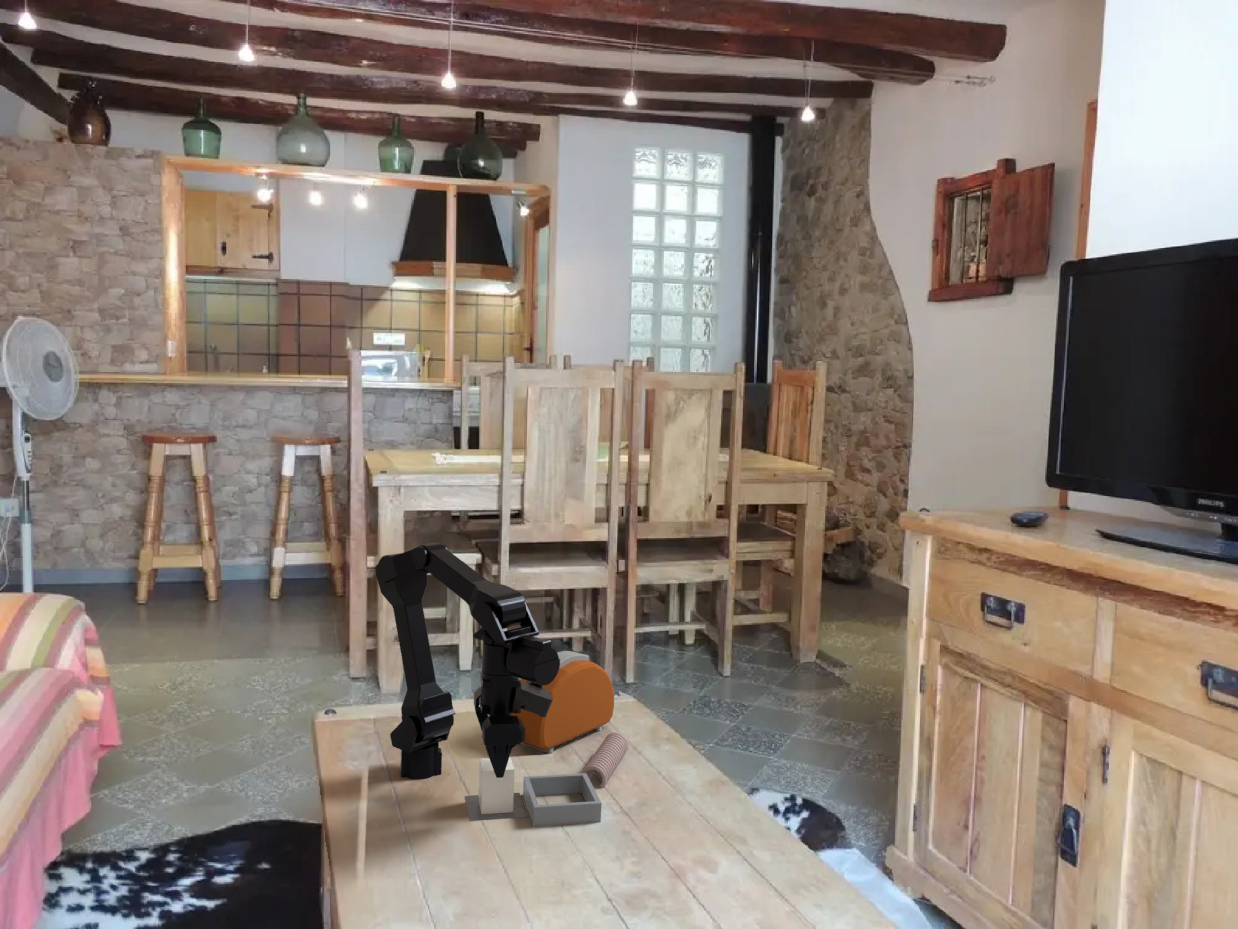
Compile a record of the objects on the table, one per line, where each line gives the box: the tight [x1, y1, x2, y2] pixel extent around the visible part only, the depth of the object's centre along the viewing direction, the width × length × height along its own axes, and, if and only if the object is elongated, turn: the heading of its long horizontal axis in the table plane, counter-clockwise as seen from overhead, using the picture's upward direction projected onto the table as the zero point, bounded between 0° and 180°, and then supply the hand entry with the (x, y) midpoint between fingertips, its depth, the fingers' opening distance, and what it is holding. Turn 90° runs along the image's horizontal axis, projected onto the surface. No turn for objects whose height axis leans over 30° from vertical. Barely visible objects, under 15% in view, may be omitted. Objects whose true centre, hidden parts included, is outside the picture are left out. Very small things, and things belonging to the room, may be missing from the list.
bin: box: [522, 772, 602, 827], centre depth 153 cm, size 11×12×4 cm
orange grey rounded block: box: [510, 650, 615, 754], centre depth 186 cm, size 23×9×17 cm, turn 144°
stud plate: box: [464, 792, 528, 822], centre depth 152 cm, size 9×9×5 cm
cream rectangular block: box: [478, 756, 515, 814], centre depth 152 cm, size 5×5×7 cm
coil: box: [581, 732, 629, 789], centre depth 170 cm, size 5×5×18 cm
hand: (496, 765), depth 152 cm, fingers open, 9 cm apart
